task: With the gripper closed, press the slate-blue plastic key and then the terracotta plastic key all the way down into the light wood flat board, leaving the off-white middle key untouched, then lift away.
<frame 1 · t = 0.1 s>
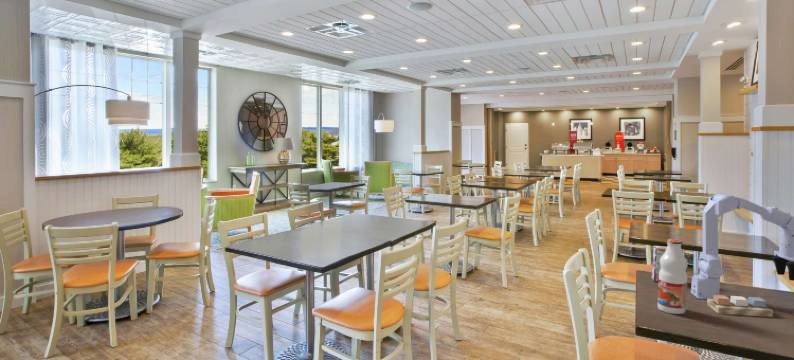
hand: (786, 277, 178), 10 cm above the table, tool pointing down, fingers open, 7 cm apart
light wood flat board: (738, 310, 170), on the table
fruit juice: (671, 310, 171), on the table
off-white key: (739, 301, 169), point 4 cm above the table, slide at 0.0 cm
candy bar box: (666, 282, 205), on the table
slate blue key: (756, 302, 168), point 4 cm above the table, slide at 0.0 cm
terracotta key: (721, 300, 171), point 4 cm above the table, slide at 0.0 cm
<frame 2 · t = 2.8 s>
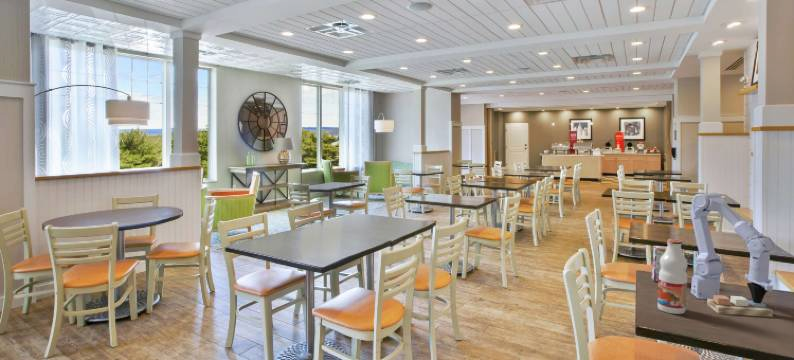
hand: (756, 302, 168), 4 cm above the table, tool pointing down, fingers closed, pressing on slate blue key
slate blue key: (756, 305, 168), point 2 cm above the table, slide at 1.4 cm, touching gripper
everything else where it was.
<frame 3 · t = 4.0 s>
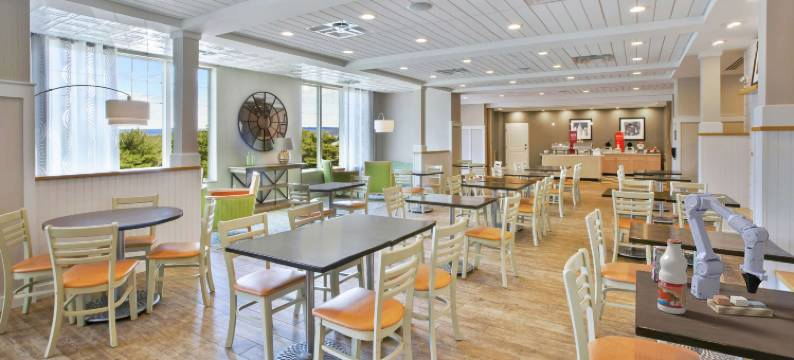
hand: (751, 292, 168), 7 cm above the table, tool pointing down, fingers closed
slate blue key: (756, 306, 168), point 2 cm above the table, slide at 1.6 cm, touching light wood flat board
everything else where it was.
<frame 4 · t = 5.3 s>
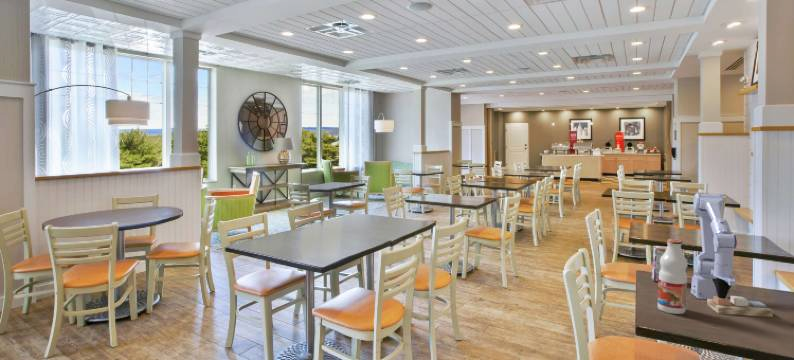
hand: (721, 297, 171), 5 cm above the table, tool pointing down, fingers closed, pressing on terracotta key
terracotta key: (721, 300, 171), point 4 cm above the table, slide at 0.3 cm, touching gripper
everything else where it was.
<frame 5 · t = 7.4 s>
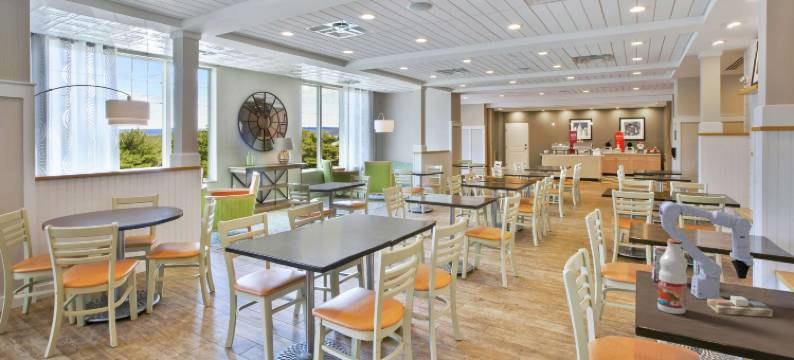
hand: (741, 278, 180), 9 cm above the table, tool pointing down, fingers closed
terracotta key: (721, 304, 171), point 2 cm above the table, slide at 1.6 cm, touching light wood flat board
everything else where it was.
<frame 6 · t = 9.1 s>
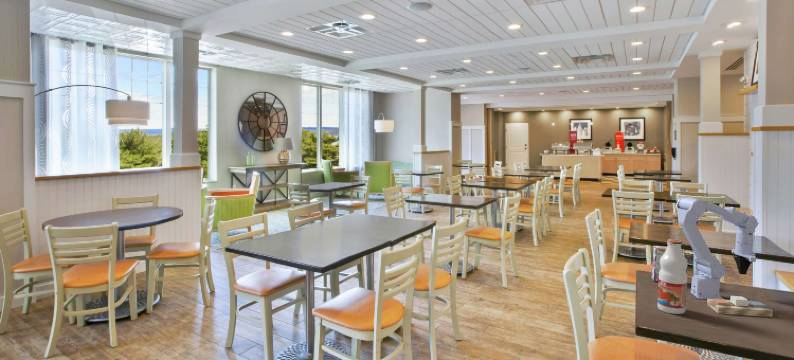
hand: (742, 273, 185), 9 cm above the table, tool pointing down, fingers closed
nothing on the table moved.
at the end: slate blue key slide at 1.6 cm; terracotta key slide at 1.6 cm; off-white key slide at 0.0 cm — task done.
